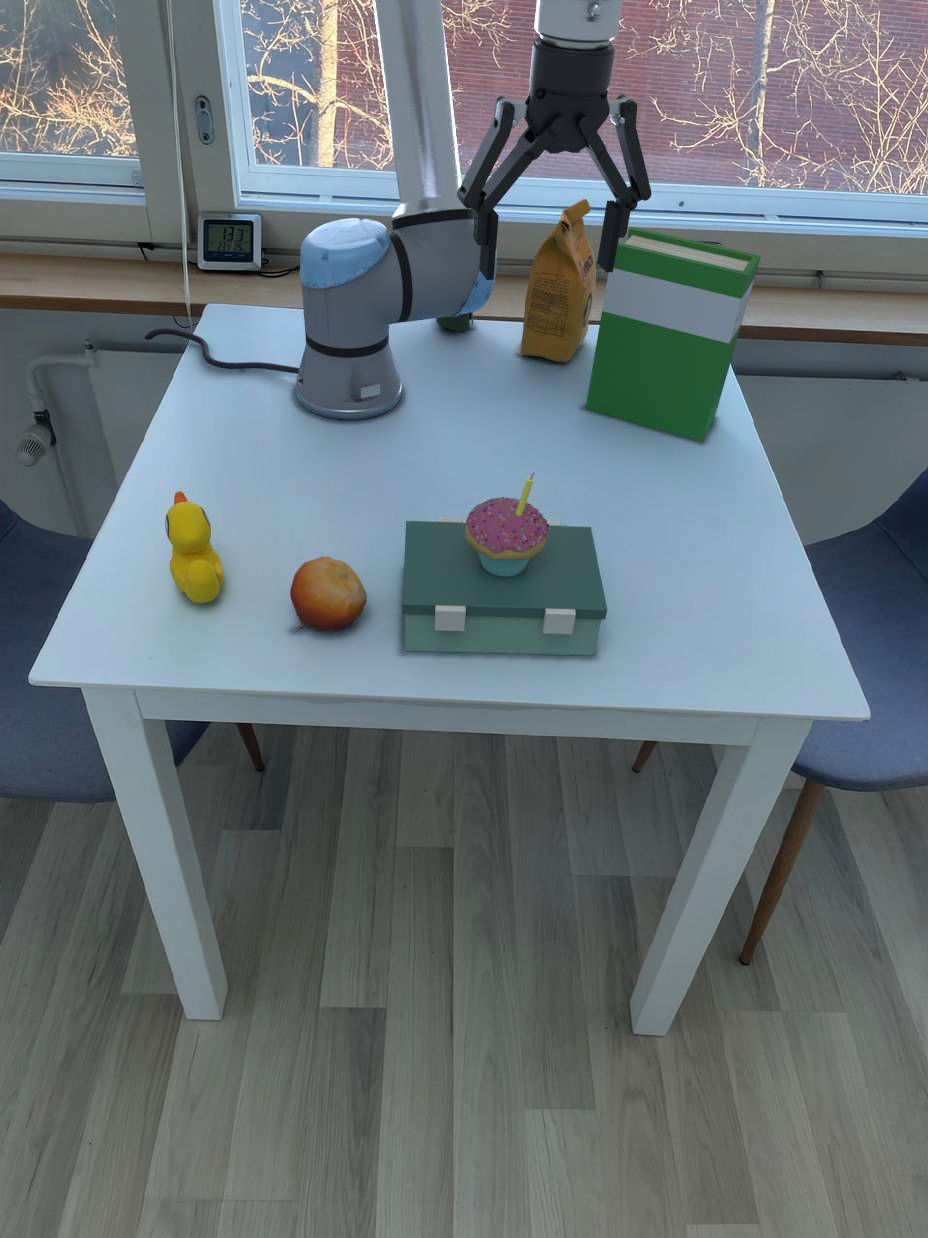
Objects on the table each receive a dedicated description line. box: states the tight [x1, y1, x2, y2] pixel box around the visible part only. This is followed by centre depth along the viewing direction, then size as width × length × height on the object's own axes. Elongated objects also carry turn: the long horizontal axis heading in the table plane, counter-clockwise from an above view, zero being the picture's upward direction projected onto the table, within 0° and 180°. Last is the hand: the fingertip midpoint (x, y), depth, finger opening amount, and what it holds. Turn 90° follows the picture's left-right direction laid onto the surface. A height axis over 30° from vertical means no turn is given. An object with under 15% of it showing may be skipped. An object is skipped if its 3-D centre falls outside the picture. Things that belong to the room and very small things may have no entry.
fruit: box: [289, 556, 368, 632], centre depth 94 cm, size 8×8×8 cm
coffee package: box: [519, 198, 597, 363], centre depth 137 cm, size 10×12×22 cm
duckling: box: [164, 490, 225, 604], centre depth 95 cm, size 11×5×10 cm, turn 23°
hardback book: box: [585, 226, 762, 443], centre depth 123 cm, size 18×7×24 cm, turn 64°
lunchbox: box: [401, 516, 608, 657], centre depth 96 cm, size 21×15×7 cm
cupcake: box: [464, 472, 550, 577], centre depth 89 cm, size 9×8×12 cm
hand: (546, 271), depth 95 cm, fingers open, 13 cm apart
